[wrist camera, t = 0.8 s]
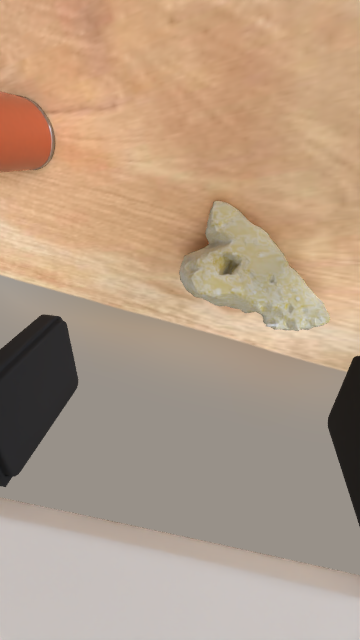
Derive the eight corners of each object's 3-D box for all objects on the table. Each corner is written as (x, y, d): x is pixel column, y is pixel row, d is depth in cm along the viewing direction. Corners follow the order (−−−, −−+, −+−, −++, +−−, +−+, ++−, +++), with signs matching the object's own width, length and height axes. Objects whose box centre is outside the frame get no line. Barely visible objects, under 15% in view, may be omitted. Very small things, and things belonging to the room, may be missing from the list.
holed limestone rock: (170, 232, 38) (181, 347, 35) (174, 198, 31) (189, 338, 28) (281, 228, 40) (300, 336, 37) (310, 194, 32) (337, 326, 30)
